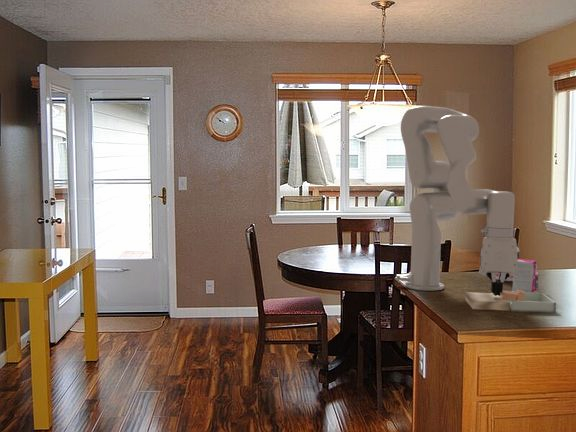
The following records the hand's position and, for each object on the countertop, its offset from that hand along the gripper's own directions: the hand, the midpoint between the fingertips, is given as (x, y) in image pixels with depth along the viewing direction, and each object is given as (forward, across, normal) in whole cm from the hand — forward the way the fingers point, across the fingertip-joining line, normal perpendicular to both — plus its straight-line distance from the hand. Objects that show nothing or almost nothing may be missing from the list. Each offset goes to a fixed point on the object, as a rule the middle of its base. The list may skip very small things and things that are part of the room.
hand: (496, 294), depth 196 cm
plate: (+3, -3, 0) cm, 4 cm away
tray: (+3, +9, 0) cm, 10 cm away
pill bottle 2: (+4, +15, +23) cm, 28 cm away
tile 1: (+1, +3, 0) cm, 3 cm away
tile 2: (0, +6, 0) cm, 6 cm away
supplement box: (+4, +12, +15) cm, 19 cm away
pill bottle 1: (+4, +12, +42) cm, 44 cm away
